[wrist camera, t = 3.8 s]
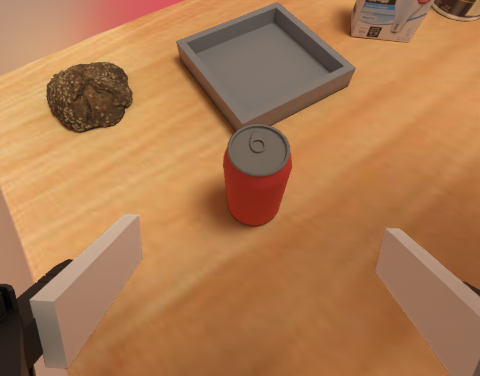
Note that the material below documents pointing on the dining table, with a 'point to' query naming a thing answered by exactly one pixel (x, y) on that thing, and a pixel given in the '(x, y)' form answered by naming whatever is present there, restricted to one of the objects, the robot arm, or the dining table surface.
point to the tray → (263, 66)
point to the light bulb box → (388, 18)
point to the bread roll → (89, 95)
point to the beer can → (256, 172)
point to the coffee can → (458, 9)
